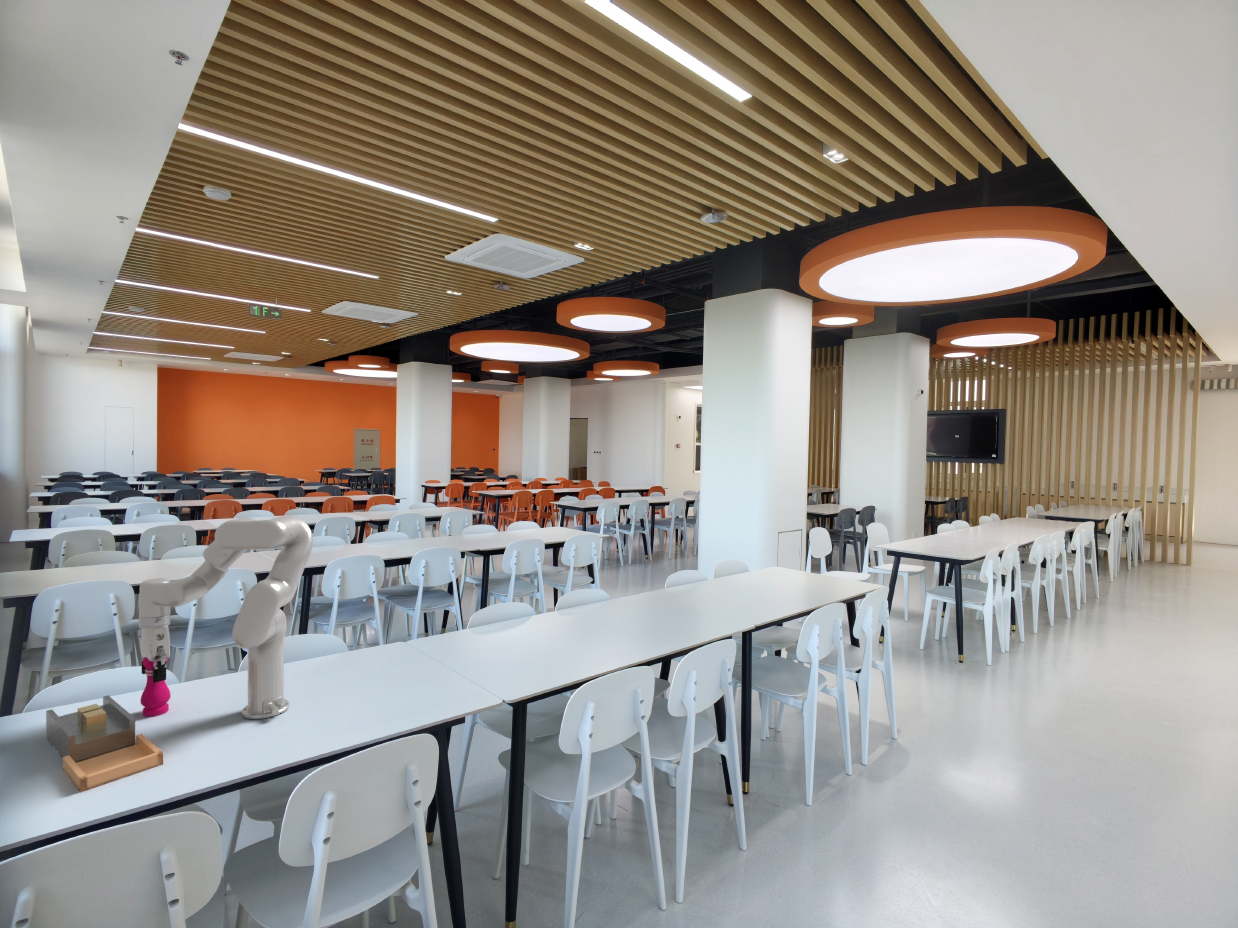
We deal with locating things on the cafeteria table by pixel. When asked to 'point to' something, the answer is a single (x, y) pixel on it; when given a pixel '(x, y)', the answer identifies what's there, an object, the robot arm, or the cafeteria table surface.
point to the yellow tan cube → (85, 710)
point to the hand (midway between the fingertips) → (153, 676)
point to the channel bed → (91, 733)
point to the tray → (113, 764)
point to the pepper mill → (154, 693)
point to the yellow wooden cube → (94, 720)
